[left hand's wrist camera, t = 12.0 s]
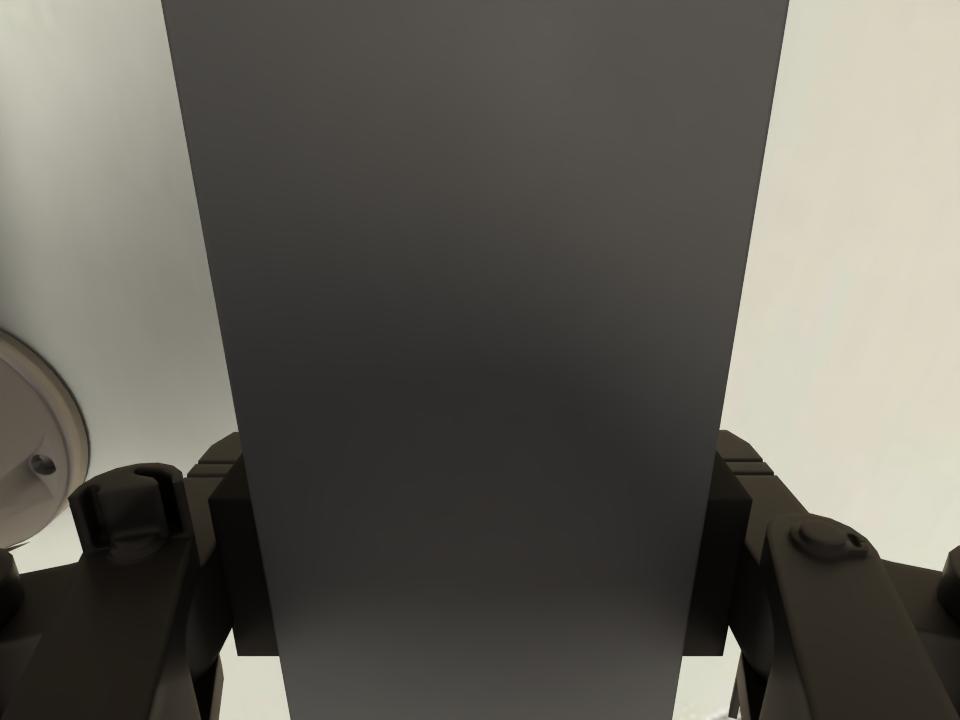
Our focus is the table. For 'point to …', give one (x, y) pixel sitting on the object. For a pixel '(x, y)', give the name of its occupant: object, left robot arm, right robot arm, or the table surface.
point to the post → (478, 330)
